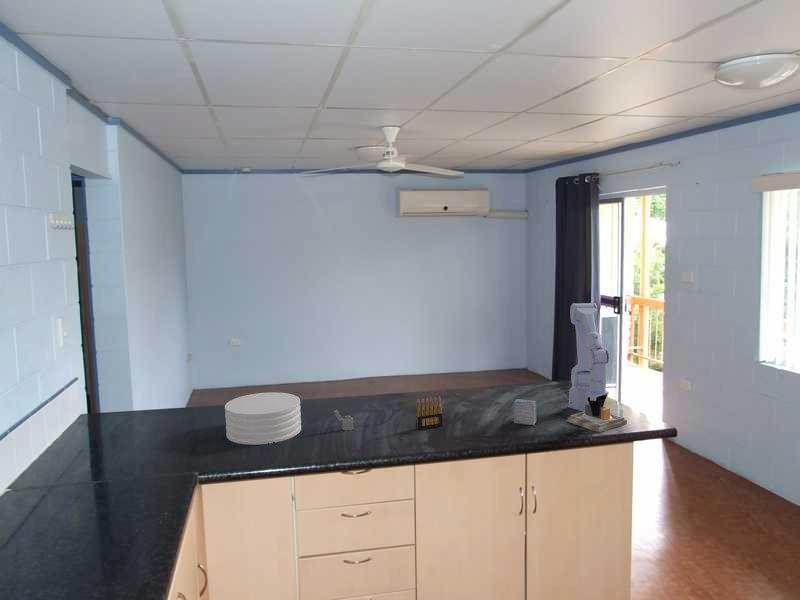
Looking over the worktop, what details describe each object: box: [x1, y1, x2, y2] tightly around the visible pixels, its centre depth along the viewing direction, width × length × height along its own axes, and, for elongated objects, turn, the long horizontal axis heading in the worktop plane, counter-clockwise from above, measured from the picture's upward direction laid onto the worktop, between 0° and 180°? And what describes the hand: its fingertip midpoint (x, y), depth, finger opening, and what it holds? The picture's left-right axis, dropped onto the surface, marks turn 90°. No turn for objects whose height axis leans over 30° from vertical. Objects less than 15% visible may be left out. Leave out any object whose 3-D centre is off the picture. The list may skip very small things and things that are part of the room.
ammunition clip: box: [415, 395, 444, 431], centre depth 224 cm, size 11×2×12 cm, turn 112°
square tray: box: [567, 411, 628, 433], centre depth 225 cm, size 15×16×3 cm
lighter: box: [333, 409, 354, 431], centre depth 223 cm, size 7×2×8 cm, turn 100°
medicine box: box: [513, 398, 537, 426], centre depth 227 cm, size 8×4×9 cm, turn 65°
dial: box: [582, 404, 612, 424], centre depth 225 cm, size 11×11×5 cm
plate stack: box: [224, 391, 302, 445], centre depth 223 cm, size 28×28×12 cm
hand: (597, 414), depth 225 cm, fingers closed on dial, 5 cm apart
